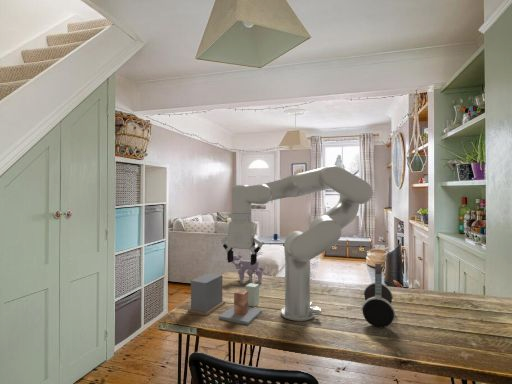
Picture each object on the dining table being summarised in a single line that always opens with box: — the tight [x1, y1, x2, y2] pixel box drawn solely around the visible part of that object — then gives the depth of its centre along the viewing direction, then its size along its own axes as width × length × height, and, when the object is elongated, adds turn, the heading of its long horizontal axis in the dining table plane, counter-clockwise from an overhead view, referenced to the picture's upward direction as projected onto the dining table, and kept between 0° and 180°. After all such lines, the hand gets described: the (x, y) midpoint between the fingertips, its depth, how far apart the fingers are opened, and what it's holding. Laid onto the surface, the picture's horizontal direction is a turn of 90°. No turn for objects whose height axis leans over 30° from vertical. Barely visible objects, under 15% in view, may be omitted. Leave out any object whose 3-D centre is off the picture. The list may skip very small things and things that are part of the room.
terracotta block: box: [233, 289, 249, 316], centre depth 112 cm, size 4×4×8 cm
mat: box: [218, 305, 263, 326], centre depth 112 cm, size 12×12×1 cm
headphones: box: [361, 262, 396, 328], centre depth 111 cm, size 11×20×20 cm, turn 158°
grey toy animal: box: [226, 254, 264, 285], centre depth 156 cm, size 20×11×14 cm, turn 79°
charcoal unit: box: [187, 273, 226, 316], centre depth 120 cm, size 9×13×12 cm
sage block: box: [245, 282, 260, 308], centre depth 124 cm, size 4×4×8 cm
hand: (241, 263), depth 112 cm, fingers open, 9 cm apart
